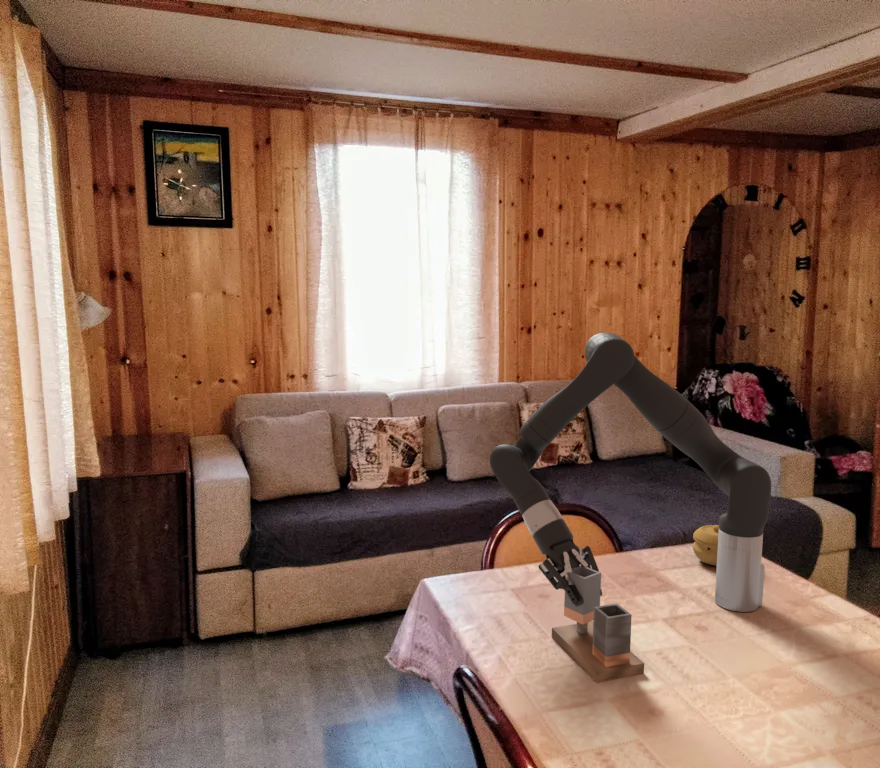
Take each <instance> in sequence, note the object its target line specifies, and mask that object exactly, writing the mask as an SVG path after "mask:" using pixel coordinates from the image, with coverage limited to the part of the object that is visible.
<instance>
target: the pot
mask: <svg viewBox="0 0 880 768" xmlns="http://www.w3.org/2000/svg"><path fill="white" fill-rule="evenodd" d="M718 532H719V524H710V525H709V524H707V525H703V526H700V527H699V528H697V529H696V530H695V531H694V532H693V535H692V538H693V540H694V542H693V543H692V550H693V552H694V554H695V556H696V558H698V559H699V561H701V562H703V563H704V564H707V565H711V566H715V567H717V551H718Z"/></svg>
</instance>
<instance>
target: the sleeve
mask: <svg viewBox="0 0 880 768" xmlns="http://www.w3.org/2000/svg"><path fill="white" fill-rule="evenodd" d="M571 570H572V573H570V576H571V578H572V580H573V585H575V586H576V588H577V589H578V591H579V593H580V595H581V596H582V598H583V600H584V602H583V603H582V604H581V605H580V606H575V604H573V603H572V601H571V599H570V598H569V596H568V594H567V592H566V591H565V590H564V599H563V600H564V605H563V608H564V609H563V616H564V617H566V618H568V619H571V620H572V621H574V622H576V623H577V622H578V623H580V624H582V625H584V624H586V623H588V622H591V621H593V618H594V607H597V606H601V596H600V591H601V590H602V589H601V587H602V586H601V585H602V572H600V571H599V572H598V571H595V570H593V569H592V568H591V569H590V568H588V567H586V568H585V567H581V565H580V566H579V567H575V568H573V569H571ZM565 580H566V577H565Z"/></svg>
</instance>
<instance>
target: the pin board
mask: <svg viewBox="0 0 880 768" xmlns="http://www.w3.org/2000/svg"><path fill="white" fill-rule="evenodd" d="M631 636H632V614H631V613H630V612H629V611H628V610H627V609H625V608H623V606H621V605H620V604H618V603H612V604H603V605H600V606H597V607H594V618H593V621H591V622H588V623H586V624H584V625H582V624H580V623H578V622H576V623H574V624H567V625H562V626H561V625H560V626H556V627H552V628H551V638H552V639H553V640H554V641H555V642H556V643H557V644H558V645H559V646H560V647H561V649H563V650H564V651H565V652H566V654H567V655H569V656H570V657H571V658H572V660H573V661H575V662H576V663H577V664H578V665H579V667H581V668H582V669H583V670H584V671H585V672H586V673H587V674H588V675H589V677H591V679H593V681H595V682H596V683H600V682H605V681H611V680H615V679H621V678H627V677H630V676H637V675H642V674H645V662H643V660H641V659H640V658H639V657H638V656H637V655H635V653H633V652H632V651H631V643H632V642H631V640H632V637H631Z"/></svg>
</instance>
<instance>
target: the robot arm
mask: <svg viewBox="0 0 880 768" xmlns="http://www.w3.org/2000/svg"><path fill="white" fill-rule="evenodd" d="M584 357H585V361H586V364H585V365H584V367H583V368H582V369H581V371H580V372H579V373H578V374H577V375H576V376H575V378H574V379H572V381H570V382H569V383H568V384H567V385H566V386H565V387H563V388H562V389H561V390H560V391H558V392H557V393H555V394H553V395H552V396H551V397H550V398H549V399H547V400H546V401H545V402H543V403H542V404H541V405H540V406H539V407H538V408H537V409H536V410H535V412H533V414H532V415H530V417H529V418H528V419H527V420H526V421H525V422H524V423H523V425H522V426H521V427H520V429H519V435H520V436H519V437H518V439H517V440H516V442H515V443H514V444H513V445H511V444H507V443H504V444H502V443H501V444H499V445H497V446H494V447H493V448H492V450H491V451H490V452H491V453H489V466H490V469H491V472H492V473H493V474H494V476H495V477H496V479H497V480H498V482H499V484H501V486H502V487H503V488H504V490H505V491H506V492H507V493H508V494H509V496H510V497H511V498H512V499H513V502H514V504H515V507H516V508H517V510H518V511H519V513H520V514H521V516H522V519H523V521H524V524H525V526H526V528H527V529H528V531H529V533H530V535H531V537H532V539H533V540H534V542H535V544H536V546H537V547H538V550H539V551H540V553H541V554H542V555H544V556H545V558H546V559H545V560H543V561H541V563H540V564H539V565H538V566H537V567H538V569H539V570H540V571H541V573H542V575H544V577H545V578H546V579H547V581H548V582H549V583H550V584H551V586H552V587H553V588H554V589H555V590H563V591H564V592H565V591H566V592H567V594H568V596H569V598H570V599H571V601H572V603H573V604H575V606H580V605H581V604H582V603H583V602H584V600H583V598H582V596H581V595H580V593H579V591H578V589H577V588H576V586H575V585H573V580H572V578H571V576H570V573H572V570H571V569H573V568H575V567H579V566H581V567H585V568H586V567H588V568H590V569H593V570H595V571H598V572H600V569H599V567H598V564H597V562H596V560H595V557H594V554H593V550H592V549H591V547H590V546H588V545H586V546H585V547H579V546H578V545H576V544H575V542H574V535H573V533H572V531H571V530H570V528H569V526H568V524H567V523H566V521H565V519H564V518H563V516H562V514H561V513H560V511H559V509H558V508H557V507H556V505H555V504H554V503H553V500H551V497H550V496H549V494H548V493H547V492H546V489H545V488H544V487H543V485H542V483H541V482H540V481H539V480H537V479H536V478H535V477H534V476H533V475H532V474H531V473H530V471H531V470H532V469H533V467H535V465H536V463H537V462H538V460H539V459H540V458H541V456H542V454H543V452H544V450H545V449H546V448H547V447H548V446H549V445H550V444H551V443H552V442H553V441H554V440H555V439H556V438H557V437H558V435H560V434H561V432H562V431H563V430H564V429H565V428H566V427H567V426H568V425H569V424H570V423H571V422H572V421H573V420H574V419H575V418H576V417H577V416H578V415H579V414H580V413H581V412H582V411H583V410H585V408H586V407H588V406H589V405H590V404H591V403H592V402H593V401H594V400H596V398H598V397H600V396H601V394H603V393H605V391H607V390H608V389H609V388H610V387H612V386H613V385H614V386H615V387H617V388H618V389H619V390H620V391H621V392H622V393H623V394H624V395H625V396H626V397H627V398H628V400H630V402H631V403H632V404H633V405H634V407H635V408H636V409H637V410H638V411H639V412H640V414H641V415H642V416H643V417H644V418H645V419H646V420H647V422H648V423H649V424H650V425H651V426H652V427H653V428H654V429H655V431H658V432H659V434H661V435H662V436H663V437H664V439H666V440H667V441H668V442H669V443H671V444H672V445H673V446H674V447H676V448H677V449H678V450H679V451H680V452H682V453H683V454H684V455H686V456H688V457H689V458H691V459H692V460H693V461H694V462H695V463H697V465H698V466H699V467H700V468H701V469H702V470H703V471H704V472H705V473H706V475H708V477H709V478H710V479H711V480H712V482H713V483H714V484H715V485H716V487H718V489H720V491H721V492H722V493H723V494H725V495H726V496H727V497H728V506H727V512H725V513H723V514H721V515H720V516H719V520H718V525H719V532H718V551H717V566H716V572H715V573H716V575H715V589H714V591H715V592H714V602H715V603H716V605H718V606H720V607H721V608H723V609H727V610H729V611H734V612H740V613H749V612H754V611H757V610H758V608H759V607H762V606H763V597H764V586H765V585H764V584H765V583H764V582H765V581H764V580H765V565H764V564H763V563H762V558H763V557H762V556H763V543H764V541H763V540H764V539H763V538H764V528H765V526H766V524H767V522H768V519H769V513H770V507H771V506H770V505H771V496H772V479H771V477H770V474H769V472H768V471H767V470H766V469H765V467H762V466H761V465H760V464H757V463H755V462H753V461H751V460H749V459H748V458H747V459H746V458H745V457H743V456H742V455H740V454H738V453H737V452H736V451H734V450H733V449H731V447H729V446H728V445H727V444H726V443H724V442H723V441H722V440H721V439H720V438H719V437H718V435H716V434H715V431H714V429H713V428H712V427H711V425H710V423H709V422H708V420H707V419H706V417H705V416H704V415H703V414H702V412H700V410H699V409H697V407H695V406H694V404H693V403H692V402H690V401H689V399H687V398H686V397H685V396H683V394H682V393H680V392H679V391H678V390H676V389H675V388H674V387H673V386H671V385H670V384H668V383H667V382H666V381H664V380H663V379H662V378H660V377H659V376H658V375H656V374H654V373H653V372H652V371H651V370H650V369H648V368H647V367H646V366H645V365H644V364H643V363H642V362H641V361H640V360H639V359H638V357H637V356H636V355H635V352H634V350H633V347H632V345H630V343H628V341H626V340H625V339H624V338H623V337H621V336H619V335H618V334H616V333H612V332H600V333H599V332H598V333H597V334H594V335H593V336H591V337H590V338H589V339H588V341H587V343H586V345H585V348H584ZM565 577H566V580H565ZM601 596H603V591H602V589H601V591H600V597H601Z"/></svg>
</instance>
